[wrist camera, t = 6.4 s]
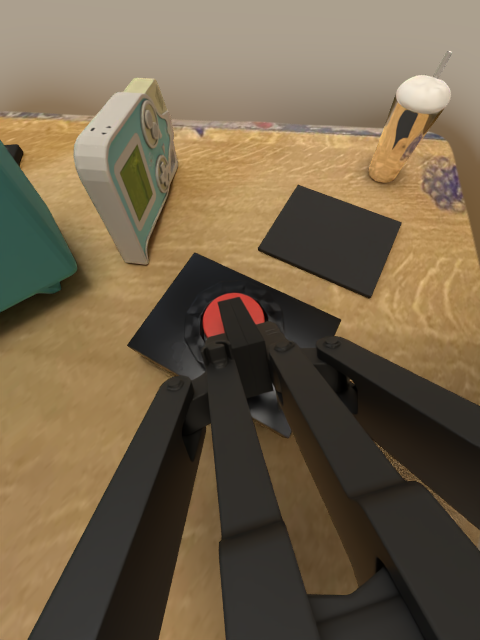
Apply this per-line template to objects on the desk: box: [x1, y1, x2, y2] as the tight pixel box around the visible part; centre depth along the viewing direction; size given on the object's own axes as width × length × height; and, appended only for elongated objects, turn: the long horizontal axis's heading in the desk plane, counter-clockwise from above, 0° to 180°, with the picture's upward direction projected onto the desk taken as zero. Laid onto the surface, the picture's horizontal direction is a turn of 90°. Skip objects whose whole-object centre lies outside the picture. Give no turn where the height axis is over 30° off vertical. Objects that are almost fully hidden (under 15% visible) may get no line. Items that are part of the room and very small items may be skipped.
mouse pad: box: [258, 185, 401, 298], centre depth 28 cm, size 12×10×1 cm
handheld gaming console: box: [74, 78, 178, 265], centre depth 27 cm, size 11×3×15 cm
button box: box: [127, 253, 341, 438], centre depth 22 cm, size 14×10×5 cm
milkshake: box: [368, 51, 452, 183], centre depth 27 cm, size 4×5×10 cm
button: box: [203, 293, 265, 338], centre depth 20 cm, size 4×4×2 cm
